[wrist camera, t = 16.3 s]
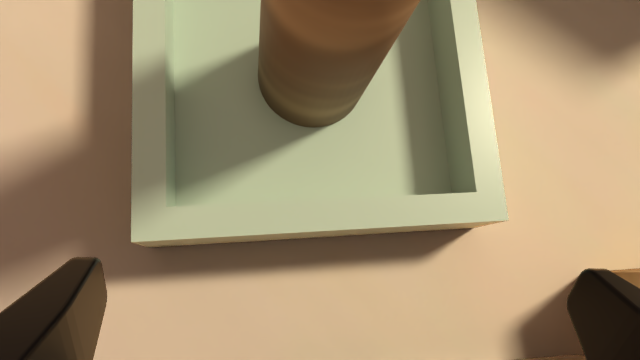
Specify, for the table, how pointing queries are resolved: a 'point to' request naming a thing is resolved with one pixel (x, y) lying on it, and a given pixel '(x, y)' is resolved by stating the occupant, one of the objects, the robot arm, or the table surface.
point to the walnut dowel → (324, 54)
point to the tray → (306, 134)
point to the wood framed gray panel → (559, 357)
